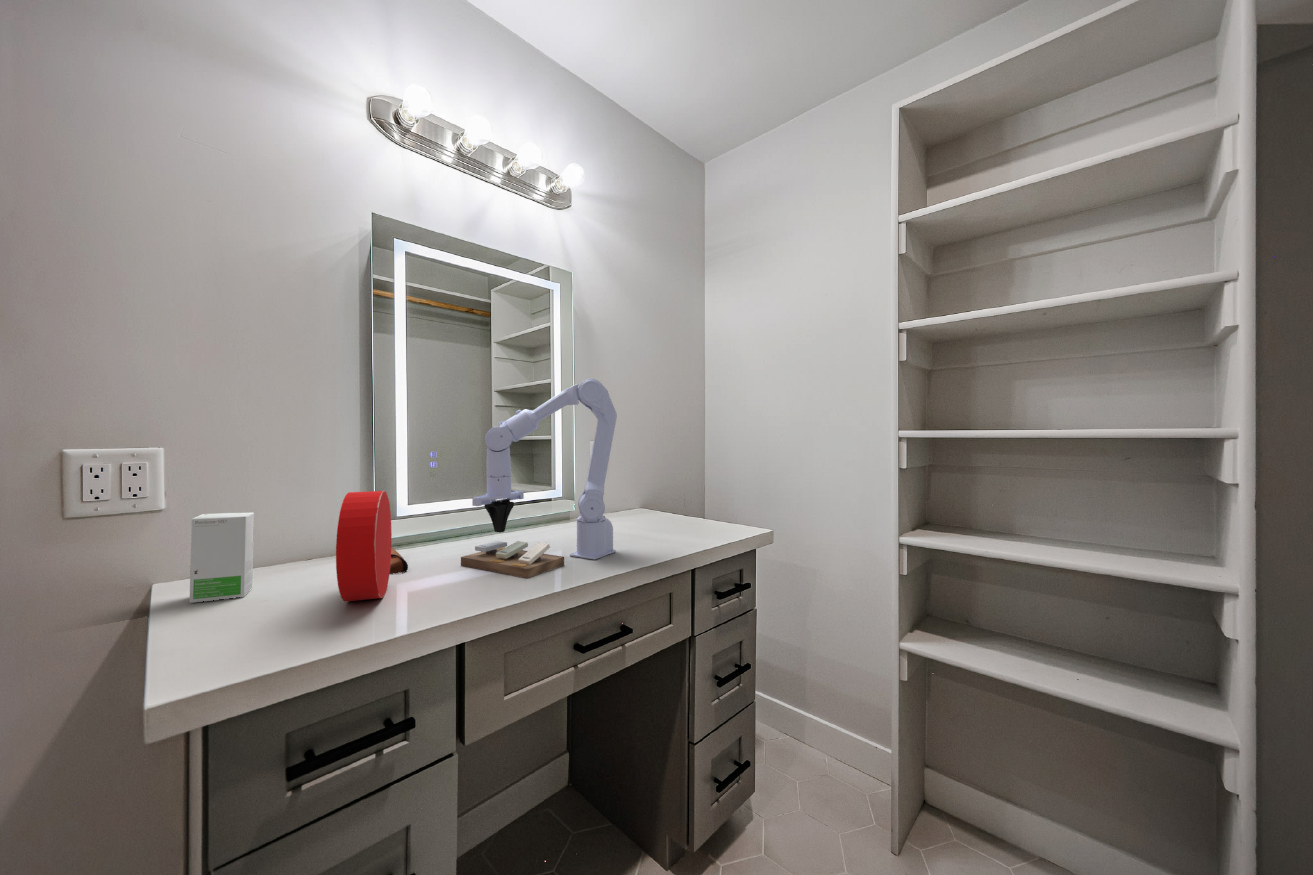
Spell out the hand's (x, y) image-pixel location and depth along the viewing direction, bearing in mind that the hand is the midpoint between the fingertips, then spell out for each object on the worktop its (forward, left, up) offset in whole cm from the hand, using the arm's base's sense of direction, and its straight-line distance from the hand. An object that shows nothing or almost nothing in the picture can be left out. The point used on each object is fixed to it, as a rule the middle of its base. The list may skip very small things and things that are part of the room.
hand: (499, 531), depth 123 cm
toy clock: (+33, 0, -7) cm, 33 cm away
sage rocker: (+3, +7, -3) cm, 8 cm away
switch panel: (+3, +7, -7) cm, 10 cm away
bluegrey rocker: (+3, 0, -3) cm, 4 cm away
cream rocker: (+3, +14, -3) cm, 15 cm away
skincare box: (+46, -25, -7) cm, 52 cm away
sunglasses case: (+18, -19, -8) cm, 28 cm away
